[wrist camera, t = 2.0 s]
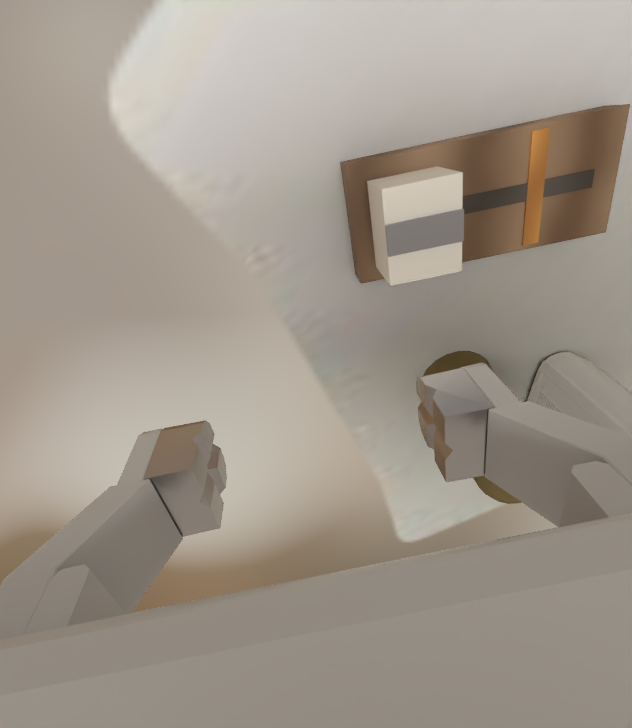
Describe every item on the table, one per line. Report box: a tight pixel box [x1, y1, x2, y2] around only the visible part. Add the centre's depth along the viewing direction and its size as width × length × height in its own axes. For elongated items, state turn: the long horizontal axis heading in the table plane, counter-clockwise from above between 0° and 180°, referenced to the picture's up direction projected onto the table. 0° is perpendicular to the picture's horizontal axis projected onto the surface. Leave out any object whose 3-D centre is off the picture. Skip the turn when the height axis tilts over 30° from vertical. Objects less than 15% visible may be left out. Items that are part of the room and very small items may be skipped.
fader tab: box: [367, 166, 464, 286], centre depth 22 cm, size 4×5×4 cm
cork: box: [424, 351, 521, 504], centre depth 29 cm, size 6×6×11 cm
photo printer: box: [527, 352, 632, 438], centre depth 30 cm, size 10×4×12 cm, turn 0°
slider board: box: [341, 104, 630, 283], centre depth 25 cm, size 16×7×2 cm, turn 99°
